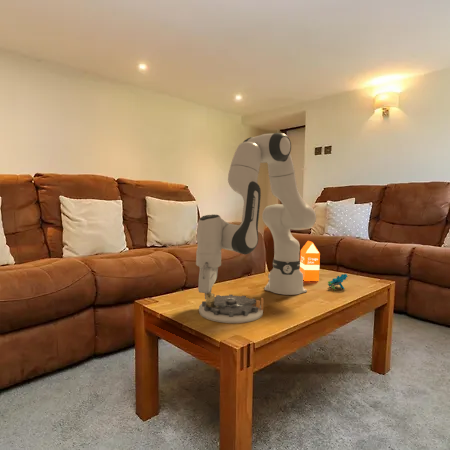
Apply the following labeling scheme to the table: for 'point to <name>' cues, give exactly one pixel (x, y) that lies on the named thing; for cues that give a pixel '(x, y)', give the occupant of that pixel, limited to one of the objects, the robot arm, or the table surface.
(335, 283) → the teal green toy figure
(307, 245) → the orange juice
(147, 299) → the table surface
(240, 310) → the sprocket
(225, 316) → the sprocket base
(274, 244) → the robot arm
